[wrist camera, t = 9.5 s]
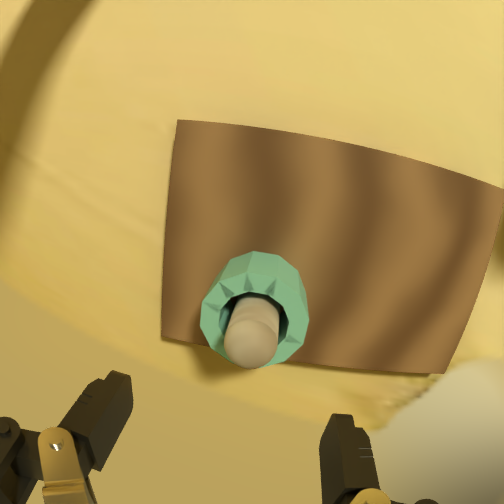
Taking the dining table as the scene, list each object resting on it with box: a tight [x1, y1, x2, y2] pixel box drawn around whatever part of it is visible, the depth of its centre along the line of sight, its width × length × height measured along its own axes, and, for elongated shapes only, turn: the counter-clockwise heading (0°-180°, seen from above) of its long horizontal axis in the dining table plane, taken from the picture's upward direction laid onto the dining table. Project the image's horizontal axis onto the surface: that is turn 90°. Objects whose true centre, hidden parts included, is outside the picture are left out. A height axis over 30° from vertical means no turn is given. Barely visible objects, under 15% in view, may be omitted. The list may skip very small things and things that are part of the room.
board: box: [162, 120, 504, 374], centre depth 18 cm, size 24×16×9 cm, turn 82°
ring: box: [200, 251, 309, 368], centre depth 20 cm, size 6×6×4 cm
